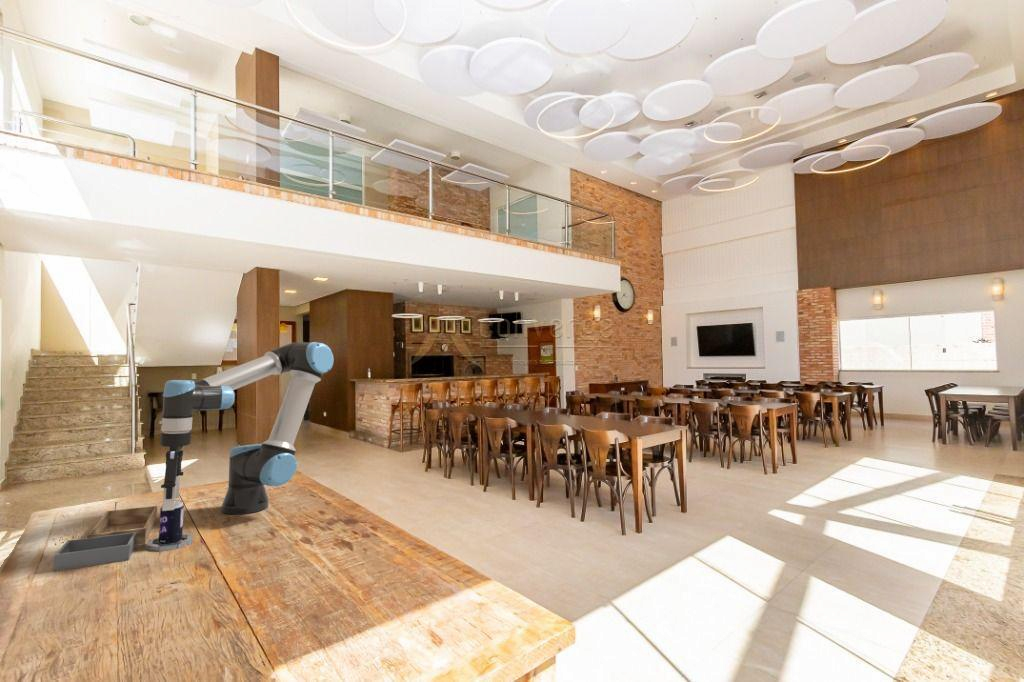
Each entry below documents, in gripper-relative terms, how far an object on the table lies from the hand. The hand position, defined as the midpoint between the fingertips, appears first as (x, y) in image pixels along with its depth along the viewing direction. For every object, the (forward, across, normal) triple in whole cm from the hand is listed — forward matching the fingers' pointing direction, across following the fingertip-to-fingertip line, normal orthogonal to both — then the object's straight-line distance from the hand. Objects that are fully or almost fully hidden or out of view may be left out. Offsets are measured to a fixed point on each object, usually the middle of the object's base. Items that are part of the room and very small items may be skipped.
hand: (171, 503), depth 142 cm
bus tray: (+12, +3, -16) cm, 20 cm away
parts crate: (+12, -15, -12) cm, 23 cm away
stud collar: (+12, 0, 0) cm, 12 cm away
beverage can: (+12, 0, 0) cm, 12 cm away
